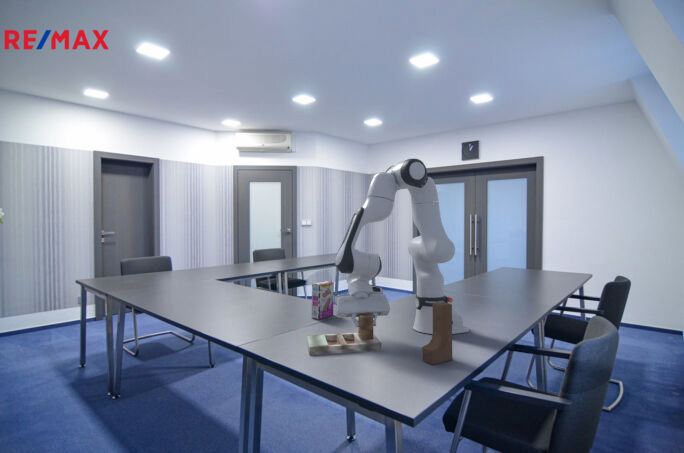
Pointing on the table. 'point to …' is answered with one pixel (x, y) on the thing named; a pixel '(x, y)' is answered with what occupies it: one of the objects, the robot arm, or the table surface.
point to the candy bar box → (322, 299)
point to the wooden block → (440, 335)
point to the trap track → (340, 343)
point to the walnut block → (365, 326)
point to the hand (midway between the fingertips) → (366, 325)
